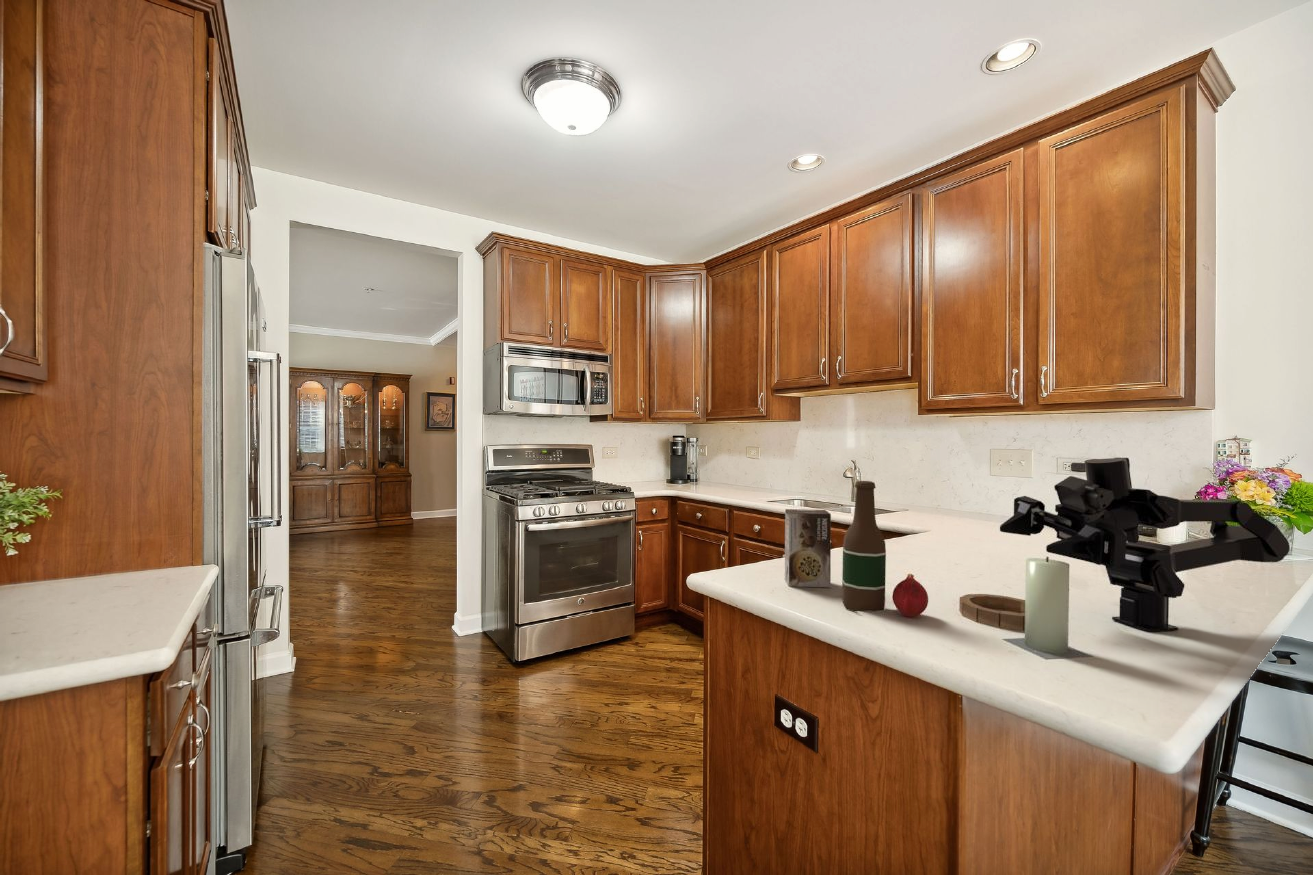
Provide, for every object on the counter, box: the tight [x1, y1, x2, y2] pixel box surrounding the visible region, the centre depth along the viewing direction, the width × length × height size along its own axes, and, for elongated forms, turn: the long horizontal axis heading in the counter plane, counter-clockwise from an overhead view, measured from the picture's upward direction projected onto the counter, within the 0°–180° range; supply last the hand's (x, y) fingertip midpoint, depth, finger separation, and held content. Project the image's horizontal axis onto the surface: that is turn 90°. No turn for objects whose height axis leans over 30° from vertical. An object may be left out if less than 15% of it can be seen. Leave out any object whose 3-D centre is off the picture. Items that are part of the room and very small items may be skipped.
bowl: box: [958, 593, 1025, 632], centre depth 98 cm, size 13×13×3 cm
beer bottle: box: [841, 480, 887, 612], centre depth 104 cm, size 8×8×24 cm
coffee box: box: [784, 508, 832, 588], centre depth 121 cm, size 9×6×16 cm
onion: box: [892, 573, 929, 618], centre depth 98 cm, size 6×6×8 cm
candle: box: [1024, 556, 1070, 654], centre depth 84 cm, size 5×5×14 cm
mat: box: [1002, 637, 1094, 660], centre depth 84 cm, size 8×8×1 cm
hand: (1022, 538), depth 92 cm, fingers open, 9 cm apart
